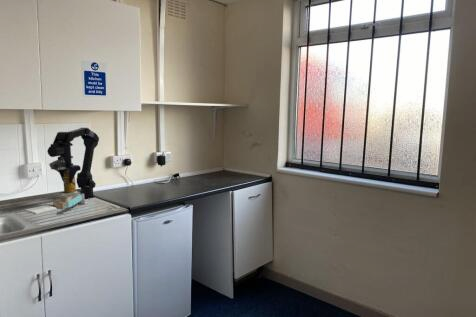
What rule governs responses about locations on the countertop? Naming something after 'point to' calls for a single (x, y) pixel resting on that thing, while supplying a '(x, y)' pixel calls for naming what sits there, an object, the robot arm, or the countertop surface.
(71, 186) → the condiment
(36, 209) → the mat
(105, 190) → the countertop surface
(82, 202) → the holder
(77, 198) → the bar
